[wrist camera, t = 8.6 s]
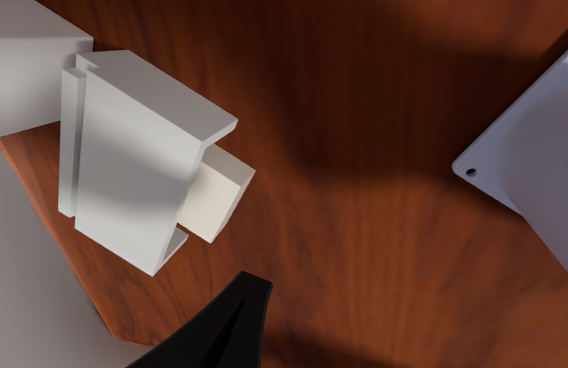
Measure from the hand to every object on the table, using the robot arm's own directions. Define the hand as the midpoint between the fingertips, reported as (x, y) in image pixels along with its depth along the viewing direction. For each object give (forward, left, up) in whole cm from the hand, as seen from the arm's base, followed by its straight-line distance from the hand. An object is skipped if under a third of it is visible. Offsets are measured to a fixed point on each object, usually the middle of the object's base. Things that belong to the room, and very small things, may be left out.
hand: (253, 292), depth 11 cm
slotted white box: (+10, +5, -9) cm, 15 cm away
